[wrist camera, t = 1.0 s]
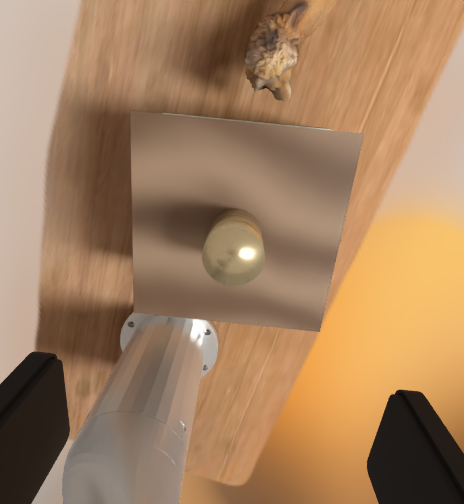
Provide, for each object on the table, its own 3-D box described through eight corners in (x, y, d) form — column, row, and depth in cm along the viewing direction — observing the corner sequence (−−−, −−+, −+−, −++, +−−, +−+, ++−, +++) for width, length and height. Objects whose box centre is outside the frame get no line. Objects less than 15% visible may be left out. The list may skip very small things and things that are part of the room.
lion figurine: (273, 114, 32) (283, 109, 24) (230, 78, 31) (225, 59, 23) (384, -34, 28) (444, -104, 19) (338, -82, 27) (381, -178, 18)
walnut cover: (300, 278, 38) (334, 372, 23) (162, 264, 38) (111, 349, 23) (327, 132, 32) (395, 135, 18) (165, 116, 32) (99, 105, 18)
